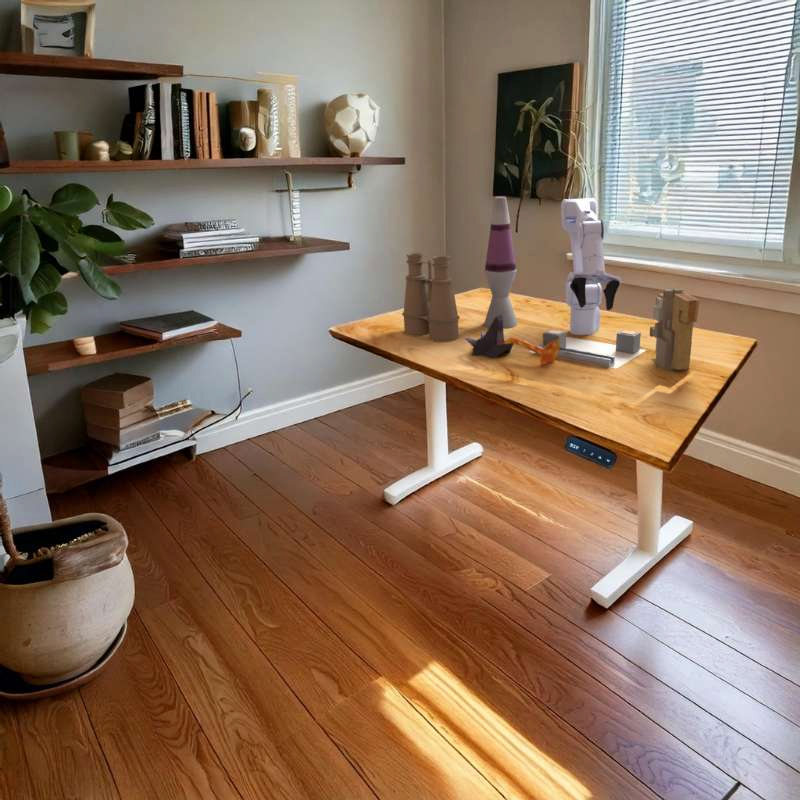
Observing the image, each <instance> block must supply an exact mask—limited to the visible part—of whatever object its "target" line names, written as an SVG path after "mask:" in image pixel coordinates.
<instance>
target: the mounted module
mask: <svg viewBox="0 0 800 800" xmlns="http://www.w3.org/2000/svg"><path fill="white" fill-rule="evenodd" d="M566 337H567V331H562V330H561V331H560V330H554V329H549V330H547V331H544V332H543V333H542V344H548V343H550V342H552V341H554V340H556V339H559V347H563V348H566Z"/></svg>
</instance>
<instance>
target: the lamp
mask: <svg viewBox="0 0 800 800" xmlns="http://www.w3.org/2000/svg"><path fill="white" fill-rule="evenodd" d="M493 200H494V201H493V207H492V213H491V219H490V230H489V238H488V244H487V250H486V258H485V266H484V270H483V271H484V272H483V273H484V275H485V278H486V281H487V283H488V287H489V290H490V292H491V293H490V294H491V296H492V297H491V300H490V304H489V306H488V310H487V313H486V317H485V319H484V322H483V325H484V327H487V328H489V327H490V326H491V324H492V322H493V321H494V319H495V317H496V316H498V315H501V314H502V318H503V328H505V329H510V328H509V327H511V328H513V326H514V327H516V326H517V325H518V321H517V318H516V314H515V312H514V308H513V305H512V303H511V300H510V296H509V295H510V293H511V289H512V286H513V282H514V280H515V278H516V275H517V271H518V270H517V265H516V258H515V252H514V251H515V250H514V245H513V237H512V230H511V220H510V213H509V207H508V201H507V197H506V196H495V197H494V199H493ZM515 325H516V326H515Z"/></svg>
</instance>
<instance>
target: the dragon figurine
mask: <svg viewBox="0 0 800 800" xmlns="http://www.w3.org/2000/svg"><path fill="white" fill-rule="evenodd" d="M504 336H505V335H504V329H503V318H502V314H501V315H498V316H496V317H495V319H494V321H493V322H492V324H491V326H490V327H488V328H487V331H486V332H484V331H483V330H480V338H477V339H473V338H469V337H464V340H466V341H467V342H468V343H469V344H470V345H471V346H472V351H473V353H472V354H471V356H472V357H473V356H475V357H478V356H479V357H480V356H481V357H485V358H487V359H496V358H498V357H499V356H500V355H502V354H503V353H511V350H512V349H513V346H514V345H516V346H518V347H522V348H524V349H526V350H529V351H533V352H536V353H538V355H540V357H539V362H540V367H543V366H544V365H547V364H549V363H551V362H553V363H554V362H555V360H556V358H557V357H556V356H557V354H558V352H559V351H560V349H559V339H556V340H554V341H552V342H550V343H548V344H547V345H546V347H545V348H542V347H539V346H540V345H536V344H534V343H531V342H529V341H527V340H524V339H521V338H518V337H516V336H511V337H510V338H508V339H506V340H505V337H504ZM536 353H535V354H536Z"/></svg>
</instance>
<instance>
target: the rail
mask: <svg viewBox="0 0 800 800" xmlns="http://www.w3.org/2000/svg"><path fill="white" fill-rule="evenodd" d="M546 345H547V344H543V343H539V345H538V346H539V347H542V348H545V347H546ZM559 349H560V351H559V352H558V354H557V356H556V358H557V357H558V358H559V359H562V358H563V359H564V360H568V359H569V361H573V360H574V362H578V361H579V362H578V363H583V362H584V363H585V364H589V363H590V364H589V365H594V364H595V366H599V365H600V366H599V367H604V366H605V367H606V368H610V366H612V365H614V364H615V357H614V356H608V355H603V354H597V353H591V352H586V351H580V350H575V349H569V348H563V347H559ZM534 354H536V352H535V353H534ZM537 354H538V353H537ZM537 354H536V355H537ZM538 355H539V354H538Z"/></svg>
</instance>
